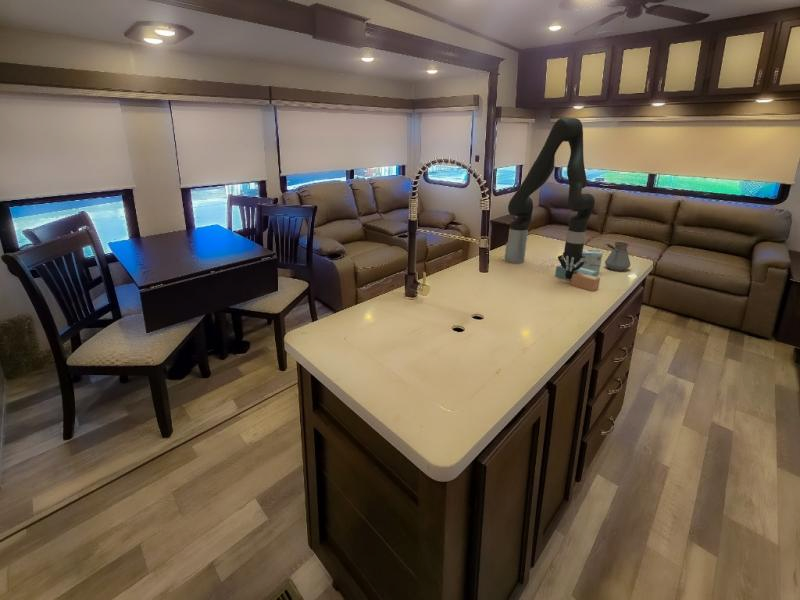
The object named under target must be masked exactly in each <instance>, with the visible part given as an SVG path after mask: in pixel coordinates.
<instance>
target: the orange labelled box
mask: <svg viewBox="0 0 800 600" xmlns="http://www.w3.org/2000/svg"><path fill="white" fill-rule="evenodd" d="M600 281H601V277H600V276H599V277H598V276H597V277H596V276H592V275H588V274H584V273H580V272H577V273H575V274H573V275H572V281H570V286H572V287H573V286H574V287H577V288H581V289H583V290H588V291H591V292H594V291H596V290H598V289H599V286H600V283H601V282H600Z"/></svg>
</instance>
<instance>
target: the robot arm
mask: <svg viewBox="0 0 800 600" xmlns="http://www.w3.org/2000/svg"><path fill="white" fill-rule="evenodd" d="M564 142H567V143H568V145H569V149H570V155H569V159H568V163H567V168H566V176H567V181H568V187H569V188H568V197H567V203H568V207H569V209H570V210H571V211H573V212H577V213H576V214H575V215H574V216H571V217H570V219H569V222H568V229H567V233H566V237H565V242H564V249H563V252H562V254H561V255H558V256H557V260H558V261H559V265H561V266H562V267H563V268H565V269H566V274H565V277H566V278H567V279H571V278H572V275H573V272H574V271H576V270H578V269H580V268H581V267H582V266H583V265H584V264H586V263H587V262H586V261H584V260H583V259H582V252H583V249H584V246H585V242H586V231H587V226H588V221H589V219H590V218H591V215H592V213H593V210H594V208H595V205H596V204H595V203H596V202H595V197H594V195H593V194H592V193H591V194H590V193H582V190H583V189H585V188H586V187H587V185H588V178H587V173H586V169H585V162H584V160H585V159H584V128H583V123H582V121H581V120H580V119H578V118H573V117H561V118H559V119H557V121H555V123H554V124H553V125H552V127H551V130H550V131H549V134H548V136H547V138H546V140H545V143H544V145H543V147H542V148H541V151H540V152H539V154H538V156H537V157H536V159H535V161H534V162H533V164H532V166H531V167H530V169H529V171H528V173H527V175H526V177H525V178H524V180H523V181H522V183H521V185H520V186H519V188H518V189H517V191H516V192H515V193H514V194H513V195H512V197H511V198H510V200H509V202H508V205H507V206H508V207H507V210H508V213H509V214H510V215H511V216H513V217H514V216H515V217H516V218H515V219H514V220H513V221H511V222H510V224H509V230H508V238H507V242H506V243H505V250H504V253H505V254H504V259H503V260H504V261H506V262H508V263H511V264H523V263H524V262H525V257H526V250H527V249H526V247H527V241H528V232H529V227H530V225H531V222H532V217H533V211H534V202H533V199H532V198H531V197H530V196H531V195H532V194H533V193H534V192H536V191H537V190H538V189H540V188H541V187H542V186H544V184H546V182H547V181H548V180H549V178H550V176H551V174H552V173H553V171H554V169H555V164H556V163H555V161H556V160H555V157H556V153H557V152H558V150H559V147H560V146H561V145H562V143H564ZM579 261H580V262H579ZM578 262H579V265H578V266H576V264H577V263H578ZM575 266H576V267H575Z"/></svg>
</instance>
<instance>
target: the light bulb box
mask: <svg viewBox="0 0 800 600" xmlns="http://www.w3.org/2000/svg"><path fill="white" fill-rule="evenodd" d="M582 259H583V260H584V261H586V262H587V263H586V264H584V265H583V266H582V268H587V269H591V270H595V271H598V275H600V270H601V265H602V259H603V251H600V250H599V249H584V248H583V252H582ZM579 262H580V261H579ZM579 262H578V263H577V264H576V266H578V265H579Z"/></svg>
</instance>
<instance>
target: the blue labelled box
mask: <svg viewBox="0 0 800 600" xmlns="http://www.w3.org/2000/svg"><path fill="white" fill-rule="evenodd" d="M575 267H576V266H575ZM577 272H580V273H584V274H588V275H592V276H596V277H598V275H599V274H598V271H595V270H591V269H587V268H582V267H581V268H580V269H578V270H576V271H574V272H573V274H575V273H577ZM565 274H566V269H565V268H563V267H562V266H561V264H559V265H557V266H556V267H555V274H554V277H555V278H558V279H562V280H566V281H568V282H569V281H570V282H571V281H572V278H571V279H567V278H566V277H565Z"/></svg>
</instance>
